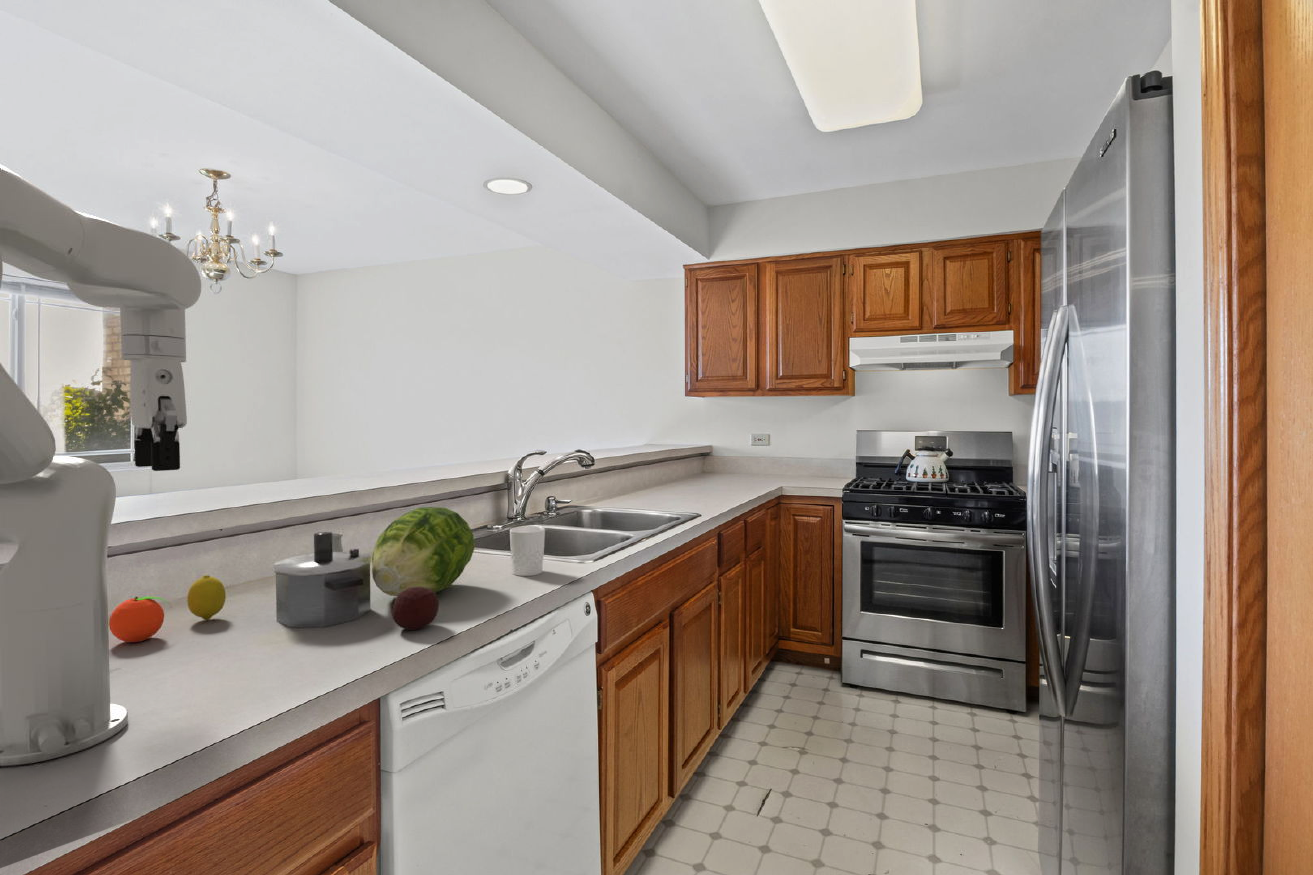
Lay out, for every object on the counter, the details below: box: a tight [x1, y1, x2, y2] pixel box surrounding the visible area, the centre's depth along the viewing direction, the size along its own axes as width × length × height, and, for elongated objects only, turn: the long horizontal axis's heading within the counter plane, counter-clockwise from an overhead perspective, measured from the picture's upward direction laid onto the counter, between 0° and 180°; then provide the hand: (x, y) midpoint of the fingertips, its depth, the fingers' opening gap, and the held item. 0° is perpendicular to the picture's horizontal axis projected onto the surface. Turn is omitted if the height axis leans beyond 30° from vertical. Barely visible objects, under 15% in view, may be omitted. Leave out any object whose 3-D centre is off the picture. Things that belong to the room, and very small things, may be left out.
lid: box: [273, 531, 372, 576], centre depth 118 cm, size 16×16×6 cm
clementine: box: [108, 596, 173, 643], centre depth 105 cm, size 8×7×7 cm
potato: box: [391, 587, 440, 631], centre depth 112 cm, size 7×8×7 cm
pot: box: [275, 563, 372, 629], centre depth 119 cm, size 19×14×9 cm
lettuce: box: [371, 506, 475, 597], centre depth 132 cm, size 17×23×17 cm
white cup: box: [509, 525, 546, 577], centre depth 151 cm, size 8×8×10 cm
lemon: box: [187, 574, 227, 621], centre depth 115 cm, size 6×6×8 cm
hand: (157, 468), depth 97 cm, fingers open, 9 cm apart
